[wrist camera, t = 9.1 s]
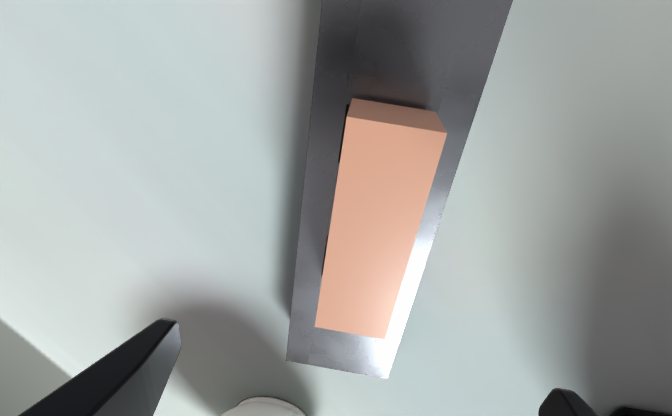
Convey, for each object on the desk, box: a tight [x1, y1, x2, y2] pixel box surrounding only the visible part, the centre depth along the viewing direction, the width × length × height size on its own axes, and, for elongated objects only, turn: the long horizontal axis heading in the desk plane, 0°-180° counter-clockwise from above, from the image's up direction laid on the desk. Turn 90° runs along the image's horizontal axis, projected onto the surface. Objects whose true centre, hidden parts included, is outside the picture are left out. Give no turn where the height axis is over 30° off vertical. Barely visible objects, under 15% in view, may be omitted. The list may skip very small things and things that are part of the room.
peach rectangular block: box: [315, 98, 447, 339], centre depth 15 cm, size 3×9×6 cm, turn 173°
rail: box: [286, 0, 513, 379], centre depth 17 cm, size 6×22×2 cm, turn 173°
